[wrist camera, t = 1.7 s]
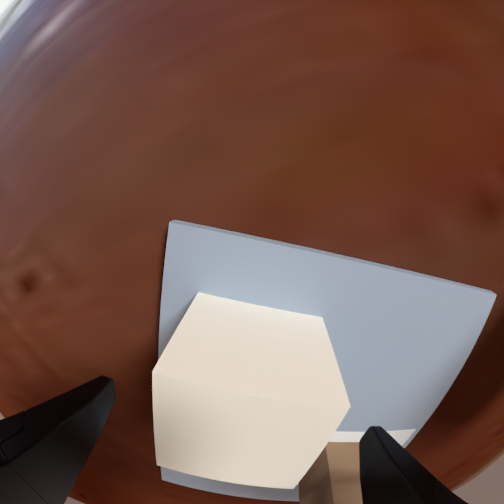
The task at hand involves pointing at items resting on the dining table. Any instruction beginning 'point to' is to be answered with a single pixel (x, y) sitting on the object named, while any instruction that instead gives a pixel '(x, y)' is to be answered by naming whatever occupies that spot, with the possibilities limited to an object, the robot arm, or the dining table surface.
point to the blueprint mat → (334, 325)
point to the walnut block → (333, 476)
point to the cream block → (246, 394)
